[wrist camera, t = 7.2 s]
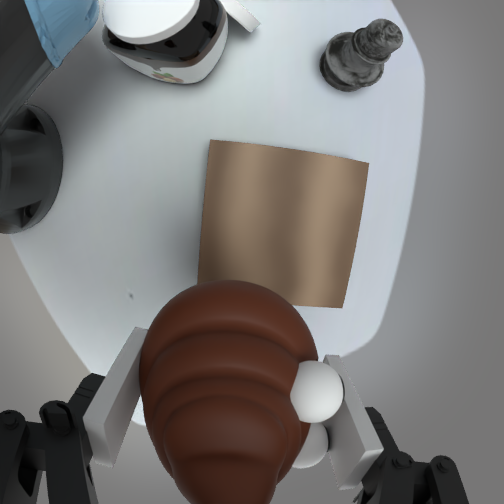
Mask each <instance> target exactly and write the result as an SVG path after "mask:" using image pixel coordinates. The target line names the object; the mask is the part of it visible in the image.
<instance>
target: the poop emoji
mask: <svg viewBox="0 0 504 504" xmlns="http://www.w3.org/2000/svg"><path fill="white" fill-rule="evenodd" d="M139 385H140V392H141V397H142V402H143V411H144V418H145V423H146V427H147V430H148V432H149V435H150V438H151V440H152V442H153V445H154V446H155V450H156V452H157V454H158V457H159V459H160V461H161V463H162V464H163V466H164V468H165V469H166V471H167V472H168V473H169V474H170V476H171V477H172V478H173V479H174V480H175V483H176V485H177V487H178V489H179V490H180V492H181V493H182V494H183V496H184V497H185V498H186V499H187V500H188V501H189V502H190V503H191V504H269V503H270V501H271V499H272V497H273V495H274V492H275V488H276V485H277V484H278V483H279V482H280V481H281V480H282V479H283V478H284V477H285V475H286V474H287V473H288V472H289V470H290V469H291V467H296V468H307V467H311V466H313V465H315V464H317V463H318V462H319V461H321V460H322V458H323V457H324V456H325V454H326V452H328V450H329V447H330V437H329V433H328V430H327V428H326V427H325V426H324V425H323V424H322V423H321V421H324V420H327V419H328V418H330V417H331V416H333V415H334V414H335V413H336V412H337V410H338V409H339V407H340V405H341V404H342V403H343V401H344V397H345V387H344V382H343V380H342V378H341V376H340V375H339V374H338V373H337V372H336V371H335V370H334V369H333V368H332V367H330V366H329V365H327V364H325V363H323V362H319V361H318V354H317V350H316V346H315V343H314V340H313V337H312V335H311V333H310V331H309V328H308V327H307V325H306V323H305V321H304V320H303V318H302V317H301V316H300V314H299V313H298V312H297V310H296V309H295V308H294V307H293V306H292V305H291V304H290V303H289V302H288V301H287V300H285V299H284V298H283V297H281V296H280V295H278V294H277V293H275V292H273V291H272V290H270V289H268V288H266V287H263V286H261V285H258V284H254V283H251V282H246V281H240V280H215V281H209V282H204V283H201V284H198V285H195V286H192V287H190V288H188V289H186V290H184V291H182V292H181V293H179V294H178V295H176V296H175V297H174V298H172V299H171V300H170V301H169V302H168V303H167V304H166V305H165V306H164V307H163V308H162V309H161V310H160V312H159V313H158V314H157V316H156V317H155V319H154V320H153V322H152V324H151V326H150V328H149V330H148V332H147V334H146V337H145V340H144V343H143V346H142V350H141V356H140V363H139Z"/></svg>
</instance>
